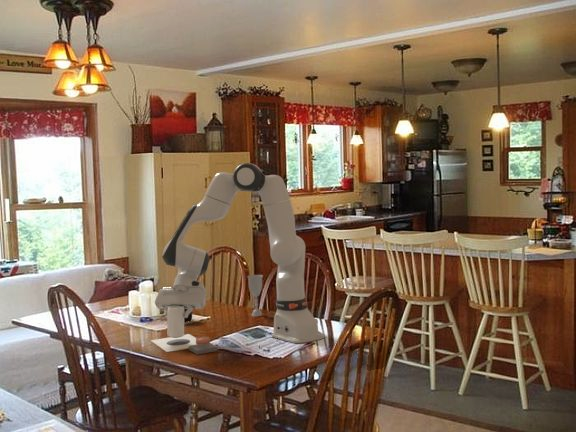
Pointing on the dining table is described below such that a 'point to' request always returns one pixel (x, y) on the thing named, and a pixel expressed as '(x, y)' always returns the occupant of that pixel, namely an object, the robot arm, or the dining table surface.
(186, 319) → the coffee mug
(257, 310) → the chalice
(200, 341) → the button
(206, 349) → the button base
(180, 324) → the can
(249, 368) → the dining table surface
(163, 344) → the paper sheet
